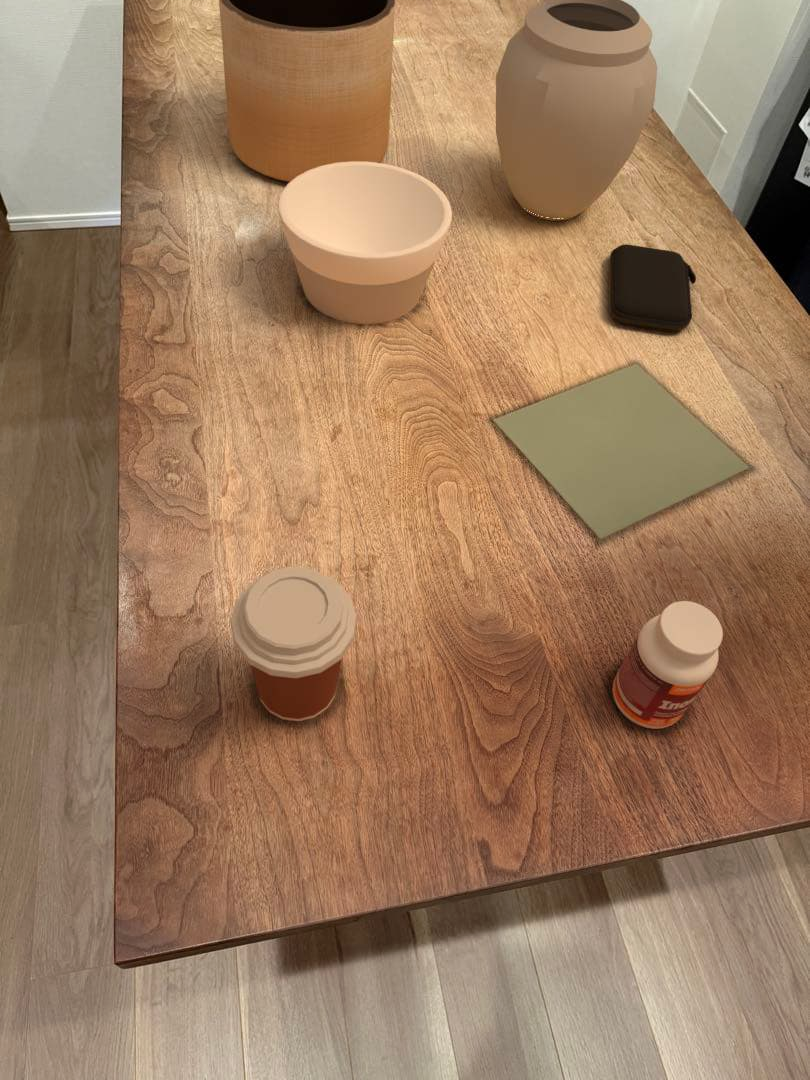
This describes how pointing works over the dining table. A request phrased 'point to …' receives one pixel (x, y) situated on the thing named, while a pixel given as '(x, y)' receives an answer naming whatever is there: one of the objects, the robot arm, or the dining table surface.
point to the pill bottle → (668, 665)
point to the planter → (307, 82)
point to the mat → (619, 449)
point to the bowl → (364, 237)
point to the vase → (572, 102)
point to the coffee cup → (294, 638)
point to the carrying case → (650, 288)
